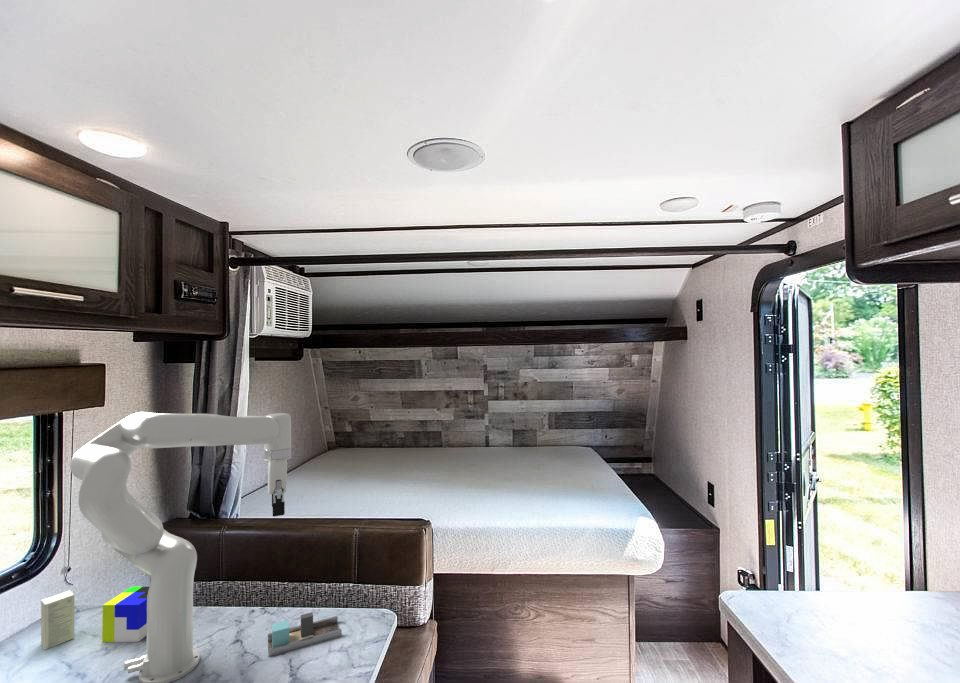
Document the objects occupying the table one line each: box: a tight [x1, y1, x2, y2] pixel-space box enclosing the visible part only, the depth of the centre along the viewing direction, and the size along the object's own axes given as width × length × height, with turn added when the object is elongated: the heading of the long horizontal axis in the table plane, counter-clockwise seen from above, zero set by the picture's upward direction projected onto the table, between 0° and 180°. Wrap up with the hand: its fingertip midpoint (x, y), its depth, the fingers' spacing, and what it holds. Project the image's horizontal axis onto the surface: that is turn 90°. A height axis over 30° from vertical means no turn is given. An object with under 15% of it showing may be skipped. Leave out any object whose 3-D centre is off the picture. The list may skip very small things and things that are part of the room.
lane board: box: [267, 615, 343, 658], centre depth 122 cm, size 18×8×2 cm, turn 116°
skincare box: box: [40, 589, 75, 650], centre depth 124 cm, size 6×4×12 cm
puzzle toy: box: [101, 586, 150, 643], centre depth 128 cm, size 10×10×10 cm
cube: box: [271, 619, 290, 647], centre depth 119 cm, size 4×4×4 cm
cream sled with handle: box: [271, 611, 314, 647], centre depth 121 cm, size 10×6×6 cm, turn 116°
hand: (278, 510), depth 137 cm, fingers open, 9 cm apart
